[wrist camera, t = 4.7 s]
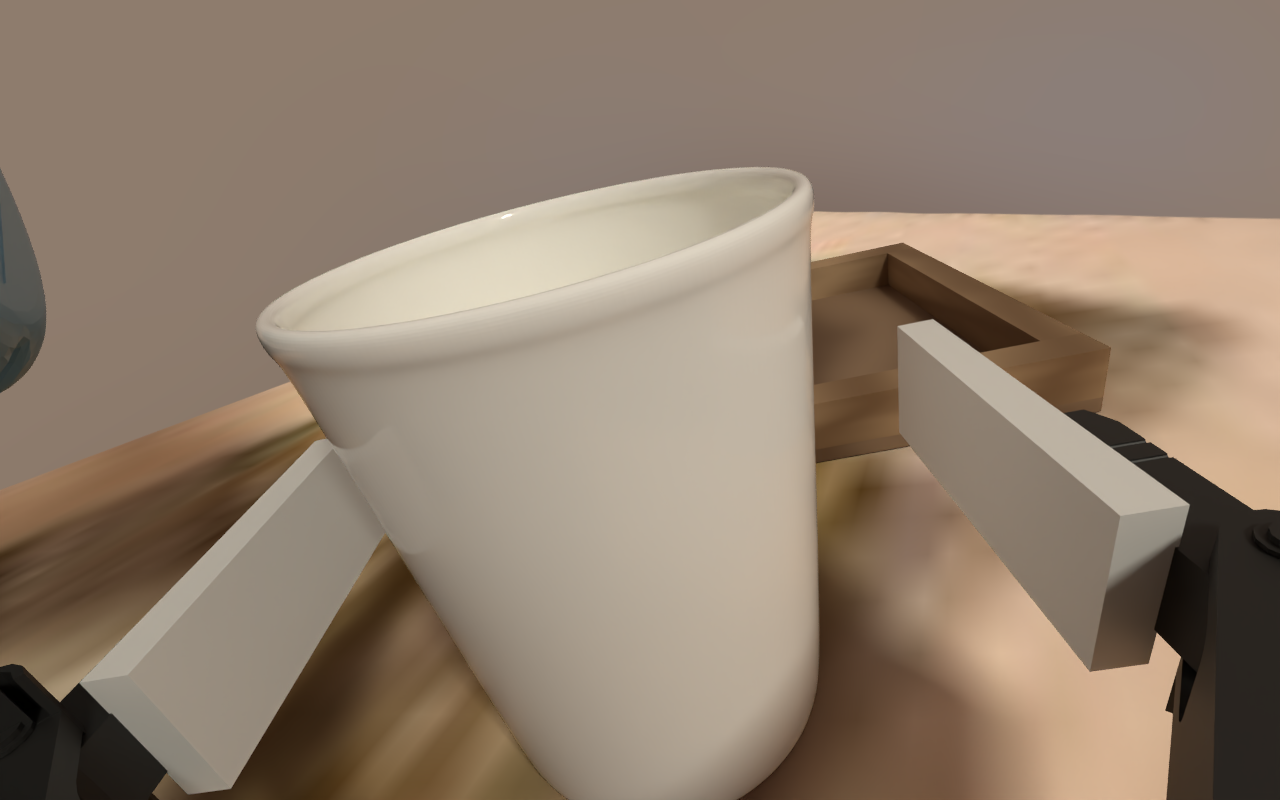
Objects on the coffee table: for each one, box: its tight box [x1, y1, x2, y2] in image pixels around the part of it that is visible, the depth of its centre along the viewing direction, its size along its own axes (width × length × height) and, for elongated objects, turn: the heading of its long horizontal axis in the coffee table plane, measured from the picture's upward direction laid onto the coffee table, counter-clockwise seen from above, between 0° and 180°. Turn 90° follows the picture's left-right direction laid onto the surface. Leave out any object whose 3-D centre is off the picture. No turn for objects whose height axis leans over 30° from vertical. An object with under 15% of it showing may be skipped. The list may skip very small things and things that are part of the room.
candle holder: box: [256, 167, 820, 800], centre depth 13 cm, size 10×10×12 cm
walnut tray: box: [811, 243, 1111, 463], centre depth 30 cm, size 18×18×3 cm
